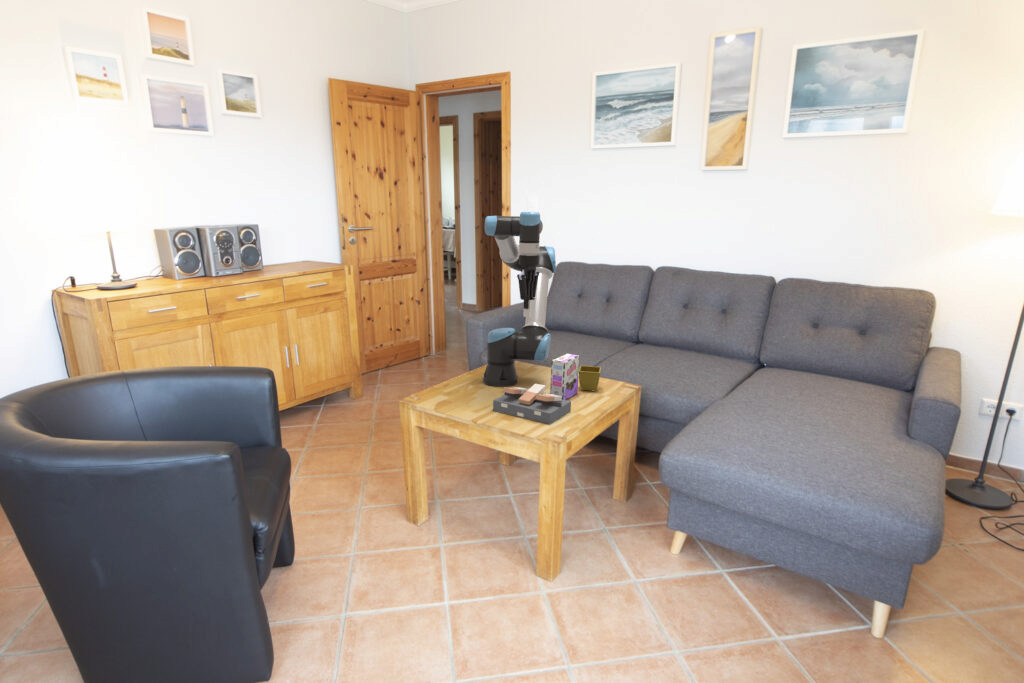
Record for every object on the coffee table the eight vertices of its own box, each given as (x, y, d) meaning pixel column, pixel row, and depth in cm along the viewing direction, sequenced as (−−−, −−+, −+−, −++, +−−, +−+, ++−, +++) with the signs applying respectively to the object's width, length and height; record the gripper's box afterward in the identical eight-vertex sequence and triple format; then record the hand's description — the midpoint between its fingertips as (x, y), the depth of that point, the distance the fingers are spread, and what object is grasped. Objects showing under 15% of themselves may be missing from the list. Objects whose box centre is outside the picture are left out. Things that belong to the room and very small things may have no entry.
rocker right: (535, 399, 198) (536, 394, 198) (550, 398, 208) (551, 394, 208) (546, 401, 196) (547, 396, 196) (561, 400, 206) (562, 396, 206)
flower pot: (598, 393, 229) (600, 372, 227) (577, 391, 231) (578, 370, 229) (599, 387, 238) (601, 366, 236) (579, 385, 240) (580, 365, 238)
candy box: (562, 402, 217) (564, 362, 213) (549, 400, 220) (550, 359, 216) (578, 393, 228) (580, 354, 225) (565, 391, 231) (566, 352, 228)
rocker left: (502, 391, 205) (503, 387, 205) (519, 391, 216) (519, 387, 215) (512, 393, 203) (513, 389, 203) (528, 393, 213) (529, 389, 213)
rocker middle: (519, 402, 203) (518, 398, 202) (535, 387, 212) (535, 383, 211) (529, 405, 200) (529, 401, 200) (545, 389, 209) (545, 385, 209)
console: (492, 410, 207) (492, 396, 205) (515, 399, 220) (516, 385, 219) (549, 424, 194) (550, 409, 193) (570, 411, 207) (571, 397, 206)
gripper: (529, 256, 200) (527, 320, 205) (546, 253, 210) (544, 315, 216) (511, 254, 203) (510, 318, 209) (528, 252, 214) (527, 313, 220)
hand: (527, 316), depth 213 cm, fingers closed
